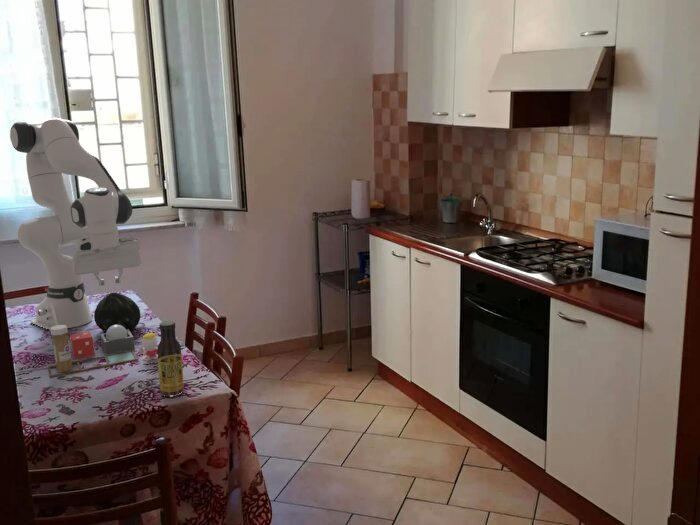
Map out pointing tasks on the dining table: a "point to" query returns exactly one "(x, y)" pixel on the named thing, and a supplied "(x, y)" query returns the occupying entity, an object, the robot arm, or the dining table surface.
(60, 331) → the sprinkles bottle
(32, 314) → the dining table surface
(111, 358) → the wooden frame
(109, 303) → the squash
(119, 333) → the dome
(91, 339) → the red die
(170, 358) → the sauce bottle
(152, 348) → the toy figures
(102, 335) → the dome housing
